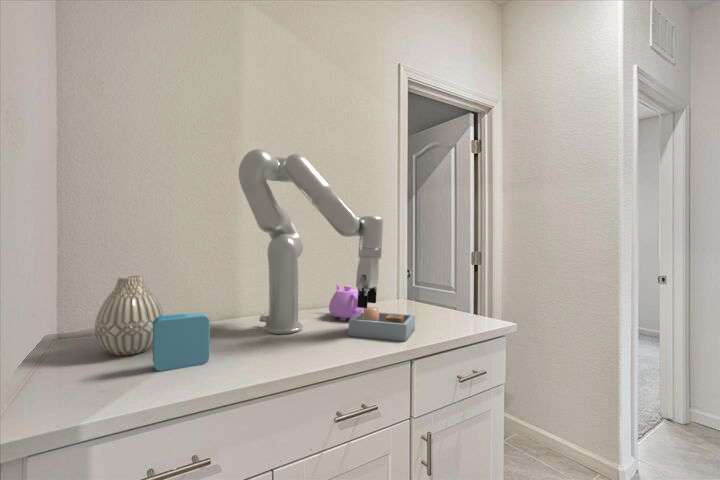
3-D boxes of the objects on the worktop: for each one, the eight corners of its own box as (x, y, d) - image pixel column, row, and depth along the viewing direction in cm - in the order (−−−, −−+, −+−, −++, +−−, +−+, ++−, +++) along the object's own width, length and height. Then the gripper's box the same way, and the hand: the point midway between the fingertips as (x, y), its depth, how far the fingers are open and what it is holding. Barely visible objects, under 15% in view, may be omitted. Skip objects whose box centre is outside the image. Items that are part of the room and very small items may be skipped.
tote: (348, 335, 119) (348, 319, 119) (362, 325, 132) (362, 310, 132) (406, 341, 113) (406, 324, 113) (414, 329, 127) (415, 315, 127)
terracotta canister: (361, 330, 122) (361, 309, 122) (366, 327, 127) (366, 306, 127) (376, 332, 121) (376, 310, 121) (380, 328, 126) (380, 307, 125)
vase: (92, 349, 103) (91, 275, 102) (157, 338, 113) (157, 272, 112) (98, 365, 90) (97, 282, 90) (170, 352, 101) (170, 277, 100)
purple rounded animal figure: (320, 313, 151) (320, 283, 151) (352, 310, 157) (353, 281, 157) (339, 324, 133) (339, 290, 133) (374, 321, 139) (375, 288, 139)
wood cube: (385, 333, 120) (385, 317, 120) (389, 329, 125) (389, 314, 125) (400, 334, 118) (400, 318, 118) (404, 330, 123) (404, 315, 123)
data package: (206, 358, 96) (206, 311, 96) (209, 363, 92) (209, 314, 92) (152, 366, 90) (152, 316, 90) (154, 372, 86) (154, 320, 86)
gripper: (367, 251, 134) (364, 299, 134) (350, 253, 117) (347, 308, 118) (387, 253, 131) (384, 302, 132) (373, 255, 115) (369, 311, 115)
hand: (366, 305), depth 125 cm, fingers open, 9 cm apart
